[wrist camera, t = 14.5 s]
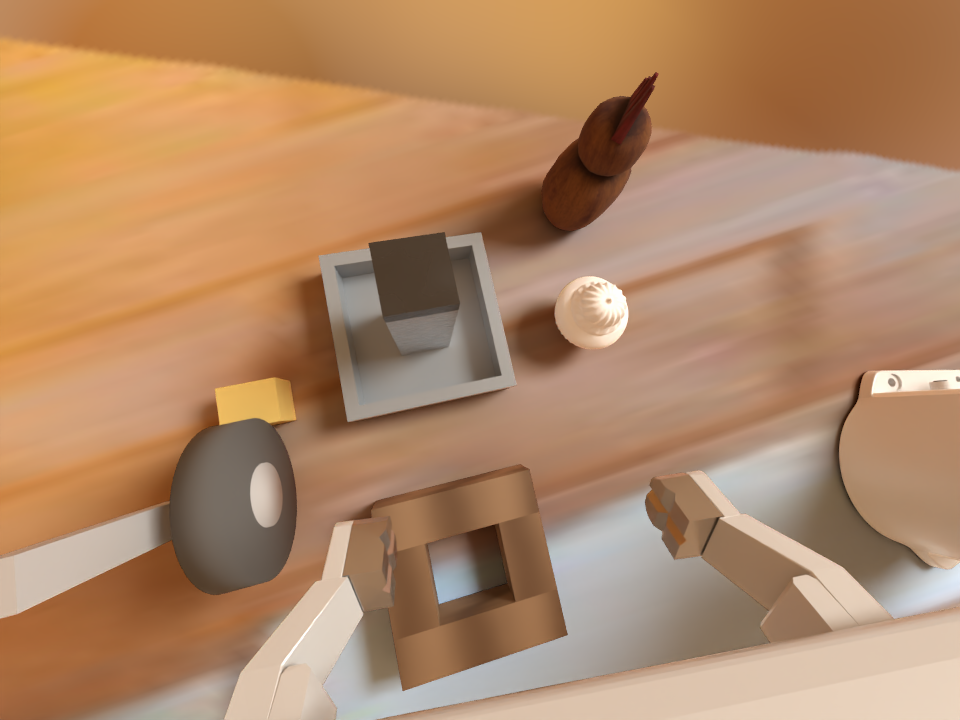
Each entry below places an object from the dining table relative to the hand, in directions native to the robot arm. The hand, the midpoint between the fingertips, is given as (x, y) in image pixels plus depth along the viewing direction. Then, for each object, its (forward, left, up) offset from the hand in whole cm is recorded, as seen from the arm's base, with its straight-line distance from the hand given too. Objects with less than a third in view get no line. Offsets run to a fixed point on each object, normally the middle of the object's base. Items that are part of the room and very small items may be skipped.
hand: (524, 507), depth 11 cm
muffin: (-12, -9, -20) cm, 25 cm away
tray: (+2, -11, -20) cm, 22 cm away
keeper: (+2, +8, -20) cm, 21 cm away
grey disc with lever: (+16, -2, -20) cm, 25 cm away
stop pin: (+2, -11, -19) cm, 22 cm away
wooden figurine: (-14, -20, -20) cm, 31 cm away
